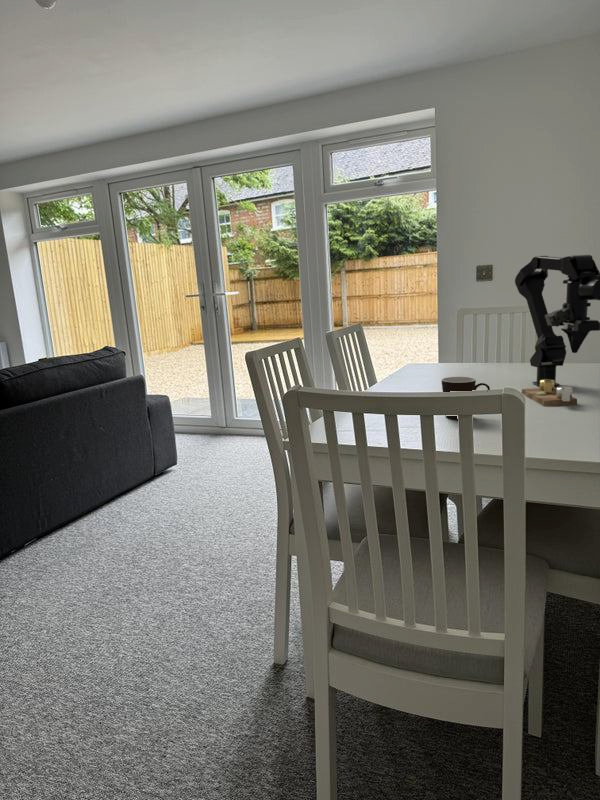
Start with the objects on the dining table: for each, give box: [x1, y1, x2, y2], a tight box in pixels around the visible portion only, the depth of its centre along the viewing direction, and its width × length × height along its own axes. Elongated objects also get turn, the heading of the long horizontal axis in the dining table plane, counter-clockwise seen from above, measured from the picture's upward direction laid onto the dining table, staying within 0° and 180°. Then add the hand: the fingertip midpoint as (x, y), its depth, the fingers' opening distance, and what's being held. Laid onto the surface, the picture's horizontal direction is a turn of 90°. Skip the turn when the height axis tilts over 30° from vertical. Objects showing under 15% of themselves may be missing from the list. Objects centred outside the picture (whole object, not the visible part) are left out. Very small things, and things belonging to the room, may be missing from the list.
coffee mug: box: [440, 376, 491, 421], centre depth 148 cm, size 12×9×10 cm
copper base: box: [521, 387, 578, 407], centre depth 165 cm, size 17×9×2 cm, turn 179°
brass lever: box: [539, 379, 555, 393], centre depth 169 cm, size 8×4×3 cm, turn 161°
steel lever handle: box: [556, 385, 573, 401], centre depth 157 cm, size 8×4×3 cm, turn 160°
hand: (574, 352), depth 170 cm, fingers closed
